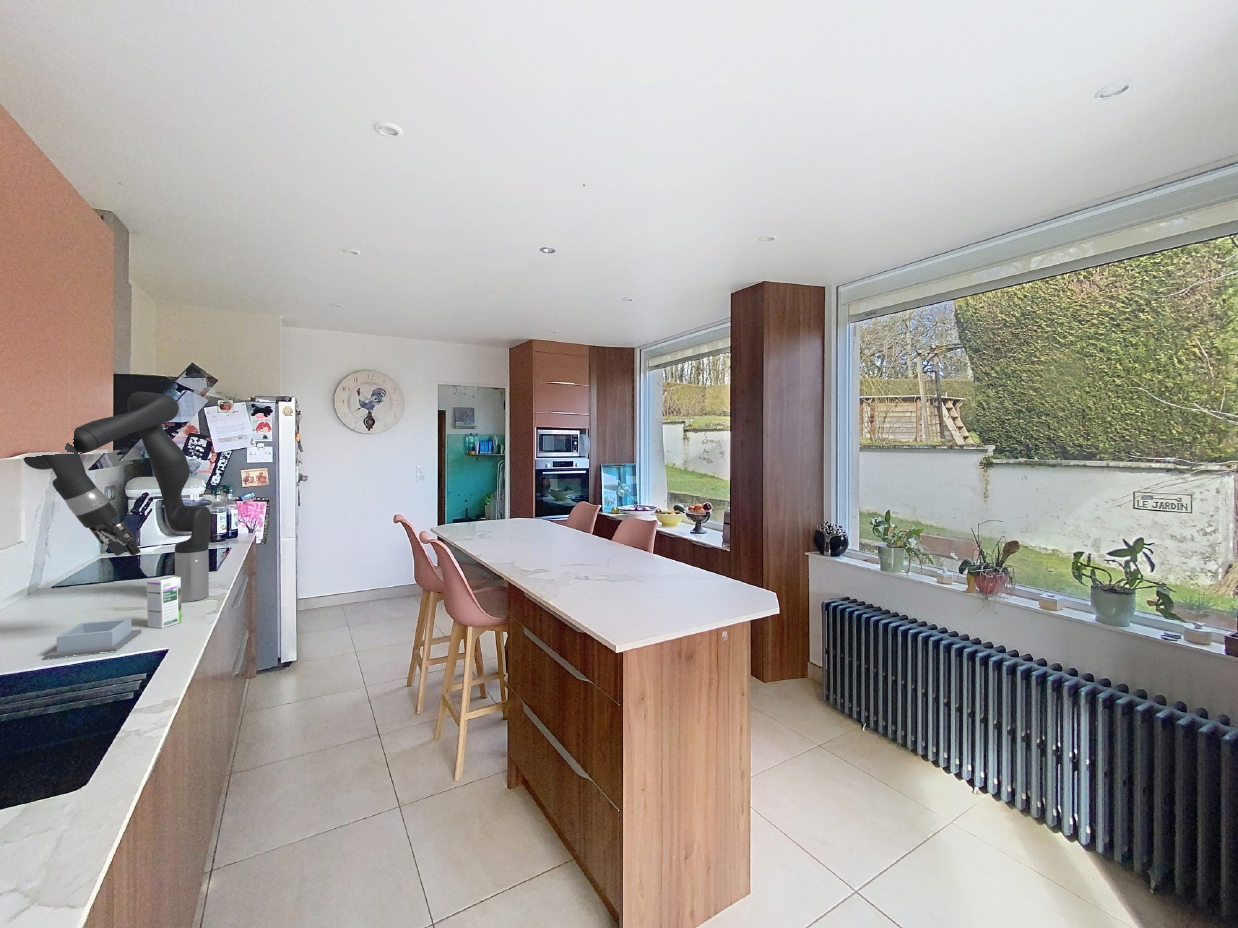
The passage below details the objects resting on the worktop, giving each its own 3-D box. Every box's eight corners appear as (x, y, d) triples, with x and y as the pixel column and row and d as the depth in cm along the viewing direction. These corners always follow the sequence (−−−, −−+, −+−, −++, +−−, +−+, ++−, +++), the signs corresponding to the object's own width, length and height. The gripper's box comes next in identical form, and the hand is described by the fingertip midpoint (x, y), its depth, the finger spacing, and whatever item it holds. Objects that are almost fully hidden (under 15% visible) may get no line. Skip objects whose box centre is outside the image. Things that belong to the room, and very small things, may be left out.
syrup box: (162, 628, 154) (161, 580, 153) (146, 626, 155) (146, 579, 154) (182, 622, 159) (181, 576, 159) (166, 620, 161) (166, 574, 160)
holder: (77, 638, 145) (77, 621, 145) (141, 632, 150) (141, 615, 150) (44, 659, 131) (44, 640, 131) (116, 651, 137) (115, 633, 137)
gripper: (120, 498, 143) (155, 546, 150) (94, 500, 149) (129, 546, 155) (88, 513, 137) (127, 562, 144) (62, 515, 143) (101, 561, 149)
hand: (128, 553), depth 149 cm, fingers open, 8 cm apart
